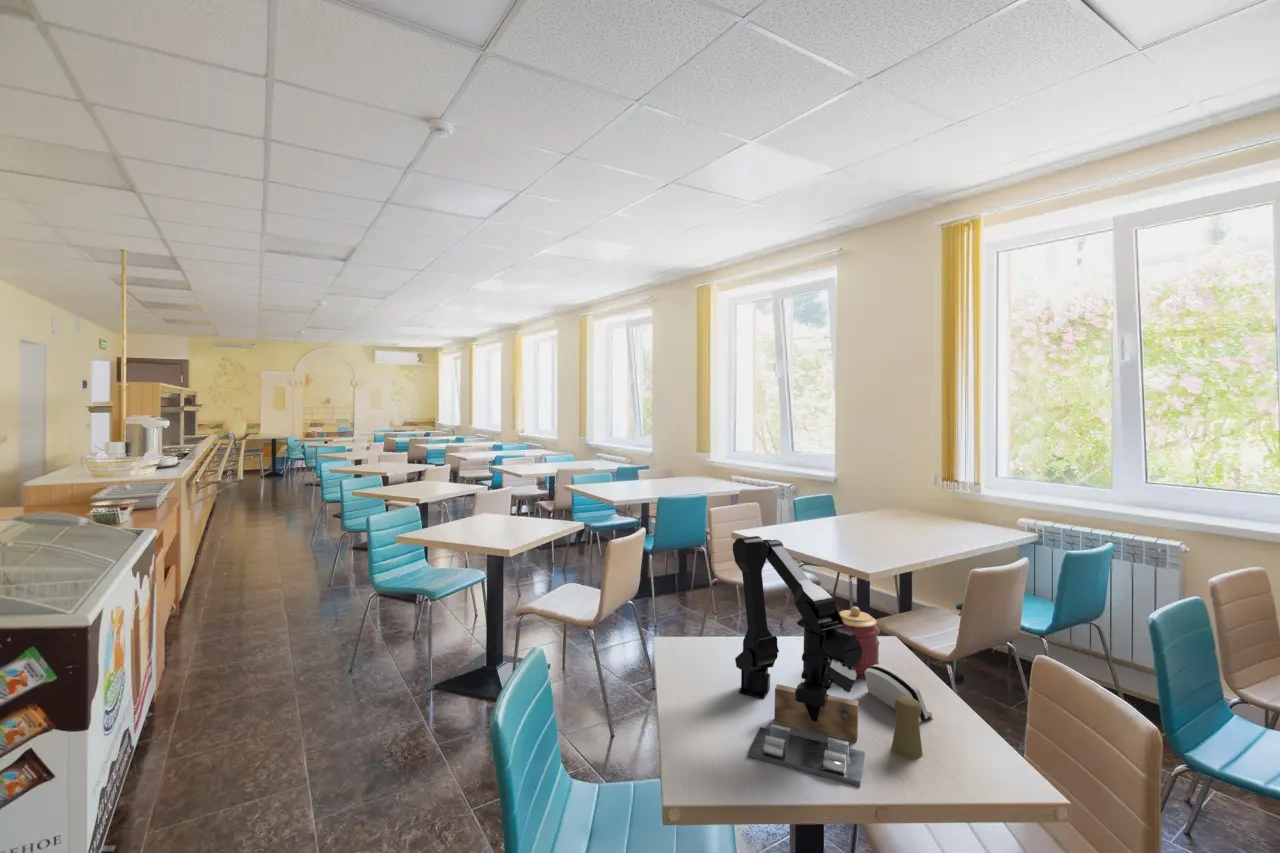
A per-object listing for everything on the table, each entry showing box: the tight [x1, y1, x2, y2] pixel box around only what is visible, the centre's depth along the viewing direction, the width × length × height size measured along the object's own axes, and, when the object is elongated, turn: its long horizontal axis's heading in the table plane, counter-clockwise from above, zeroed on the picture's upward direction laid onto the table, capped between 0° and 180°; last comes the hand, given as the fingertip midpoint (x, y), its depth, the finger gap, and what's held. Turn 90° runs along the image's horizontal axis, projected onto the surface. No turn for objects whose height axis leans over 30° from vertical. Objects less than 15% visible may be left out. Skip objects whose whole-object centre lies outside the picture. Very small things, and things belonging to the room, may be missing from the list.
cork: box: [891, 696, 924, 760], centre depth 125 cm, size 6×6×11 cm
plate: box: [747, 723, 866, 787], centre depth 122 cm, size 22×11×4 cm, turn 65°
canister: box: [832, 606, 881, 679], centre depth 165 cm, size 13×13×18 cm
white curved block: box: [864, 664, 934, 724], centre depth 144 cm, size 17×5×10 cm, turn 20°
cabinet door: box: [773, 684, 859, 743], centre depth 132 cm, size 18×4×8 cm, turn 64°
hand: (815, 718), depth 133 cm, fingers closed on cabinet door, 2 cm apart
